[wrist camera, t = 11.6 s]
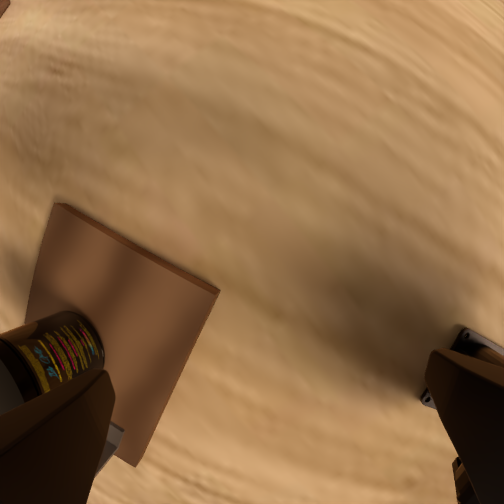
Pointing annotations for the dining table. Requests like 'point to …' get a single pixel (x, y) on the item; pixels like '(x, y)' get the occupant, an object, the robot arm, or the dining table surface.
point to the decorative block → (3, 6)
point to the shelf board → (122, 317)
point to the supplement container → (46, 356)
